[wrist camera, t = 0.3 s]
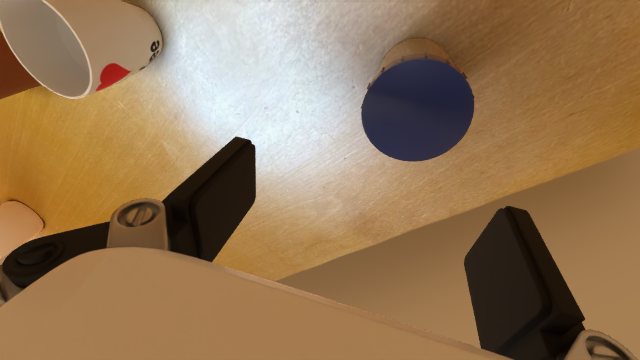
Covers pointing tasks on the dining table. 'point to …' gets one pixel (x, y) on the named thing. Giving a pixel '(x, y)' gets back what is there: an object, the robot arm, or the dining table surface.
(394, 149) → the jar lid
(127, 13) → the cup
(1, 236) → the alcohol
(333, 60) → the dining table surface
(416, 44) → the jam jar
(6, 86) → the coffee cup
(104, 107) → the dining table surface
